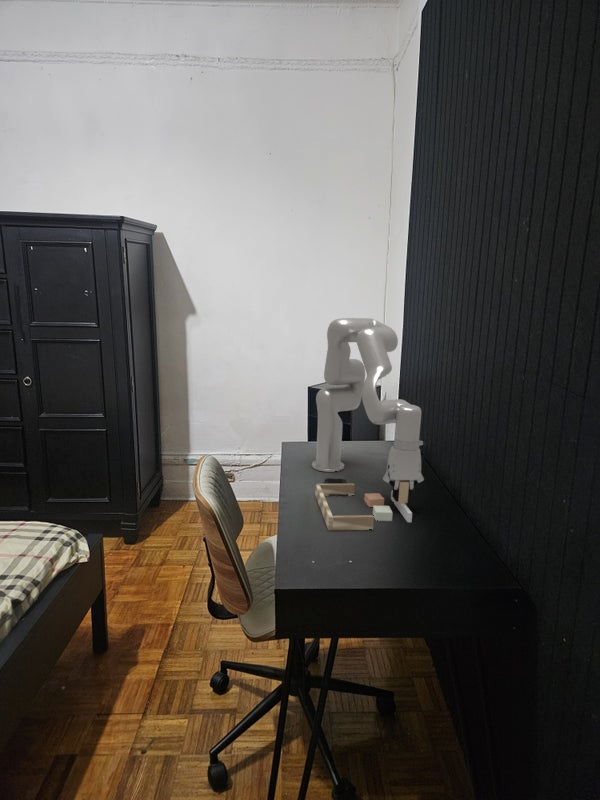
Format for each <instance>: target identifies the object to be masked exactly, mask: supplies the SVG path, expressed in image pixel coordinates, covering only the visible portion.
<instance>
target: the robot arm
mask: <svg viewBox="0 0 600 800" xmlns="http://www.w3.org/2000/svg"><path fill="white" fill-rule="evenodd" d="M326 332H327V333H326V339H327V351H326V357H325V364H324V372H323V377H324V381H325V383H326V384H328V385H330V386H327V387H323V388H321V389H319V391H318V392H317V393H316V396H315V402H316V403H315V404H316V409H317V433H316V457H315V460H313V461H312V463H311V467H312V468H313V469H314V470H317V471H320V472H325V473H334V472H335V471H337V472H341V471H342V469H343V470H344V469H345V464H344V463H343V462H342V461H341V457H342V443H343V442H342V441H343V440H342V439H343V420H342V419H341V417H340V415H339V414H338V413H339V412H348V411H349V412H350V411H353V410H356V409H358V408H359V406H360V405H361V402H362V404H363V407H364V410H365V414H366V415H367V417H368V419H369V421H370V422H371V423H372V424H374V425H378V426H379V425H387V424H394V425H395V428H394V437H393V438H394V439H393V446H391V447H390V450H389V453H388V457H387V462H386V468H385V469H386V470H385V474H384V475H383V477H382V480H383V481H384V482H385V483H387V484H389V485H390V486H391V487H392V490H393V494H392V496H393V498H394V499H395V501H396V502H398V499H399V489H398V485H399V480H408V481H409V490H408V502H410V500H411V498H412V490H413V489H414V488H415V487H417V485H418V484H419V483H421V482H424V480H425V478H424V476H423V474H422V455H421V449H420V446H423V445H424V441H423V440H420V433H421V421H422V408H421V407H420V406H417V405H416V404H411V403H409V402H408V401H406V400H404V399H403V398H402V399H400V398H399V399H398V398H397V399H386V400H385V399H384V400H380V399H379V397H378V392H377V383H378V381H380V380H381V379H382V378H384V377H386V376H388V375H389V374H390V373H391V372H392V371H393V366H392V363H391V361H390V360H391V359H390V358H389V354H388V353H391V352H394V351H395V350H397V347H398V344H399V340H398V339H399V338H398V336H397V333H396V331H395V330H394V329H393V328H392V327H390V326H388V325H387V324H385V323H382V322H380V321H379V320H377V319H374V318H370V317H369V318H368V317H367V318H366V317H365V318H363V317H362V318H361V317H358V318H355V317H343V318H336V319H334V320H332V321H331V322H330V323H329V324H328V327H327V331H326ZM349 343H356V346H357V347H358V352H359V355H360V357H361V360H360V359H357V358H351V353H352V352H351V351H352V350H351V346H350V344H349ZM340 470H341V471H340ZM335 473H336V472H335Z"/></svg>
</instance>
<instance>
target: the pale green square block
mask: <svg viewBox="0 0 600 800" xmlns="http://www.w3.org/2000/svg"><path fill="white" fill-rule="evenodd" d="M372 515H374V521H375V520H376V522H393V515H394V514H393V511H392V509H391V507H390V506H389V505H384V506H373V508H372ZM377 520H378V521H377Z"/></svg>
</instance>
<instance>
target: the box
mask: <svg viewBox="0 0 600 800" xmlns="http://www.w3.org/2000/svg"><path fill="white" fill-rule="evenodd" d="M355 487H356V485H355V483H347V484H324V483H316V484H315V489H314V490H315V492H314V497H315V498H316V501H317V503H318V504H317V505H319V508H320V512H321V514H322V517H323V520H324V522H325V524H326V528H327V530H328V531H370V530H369V529H372V531H374V523H375V522H374V521H375V518H374V516H373V514H372V515H371V514H368V515H367V514H364V515H363V514H362V515H333V513H332V511H331V509H330V506H329V505H328V502H327V499H326V497H330V496H329V494H340V495H345V494H348V497H351V496H350V495H354V496H355V489H356V488H355Z"/></svg>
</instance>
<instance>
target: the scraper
mask: <svg viewBox="0 0 600 800" xmlns="http://www.w3.org/2000/svg"><path fill="white" fill-rule="evenodd" d="M398 489H399V499H398V502H396V501H395V499H394V498H393V496H392V494H393V489H392V490H391V492H390V500H391V501H392V503H393V502H394V503H393V504H394V505H395V507H396V509H398V511H399V512H400V514H401V515H402V517H403V518H404V519H405V521H406V522H407V523H412V522H413V521H412V519H413V512H412V511H411V510H410V508H409V507H408V505H407V504H408V502H409V501H408V490H409V481H408V480H399V485H398Z"/></svg>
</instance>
